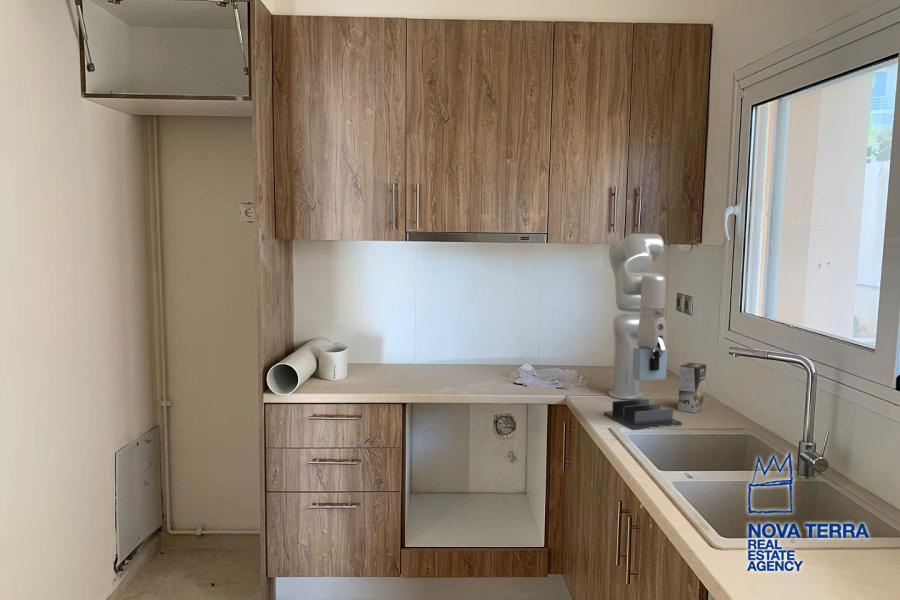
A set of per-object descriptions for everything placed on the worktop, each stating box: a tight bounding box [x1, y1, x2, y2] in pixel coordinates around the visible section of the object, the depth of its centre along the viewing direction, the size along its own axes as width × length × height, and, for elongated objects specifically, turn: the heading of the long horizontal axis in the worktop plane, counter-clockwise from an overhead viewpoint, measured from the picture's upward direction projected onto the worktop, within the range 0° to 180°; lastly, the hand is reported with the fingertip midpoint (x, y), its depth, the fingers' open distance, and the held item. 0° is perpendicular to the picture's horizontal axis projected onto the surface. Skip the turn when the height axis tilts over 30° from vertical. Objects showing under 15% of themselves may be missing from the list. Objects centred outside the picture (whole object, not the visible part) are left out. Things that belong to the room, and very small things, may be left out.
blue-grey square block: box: [632, 347, 668, 382], centre depth 206 cm, size 10×4×10 cm, turn 107°
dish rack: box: [603, 398, 683, 431], centre depth 211 cm, size 18×18×5 cm
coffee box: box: [677, 362, 707, 414], centre depth 225 cm, size 9×6×16 cm
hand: (649, 368), depth 207 cm, fingers closed on blue-grey square block, 4 cm apart
